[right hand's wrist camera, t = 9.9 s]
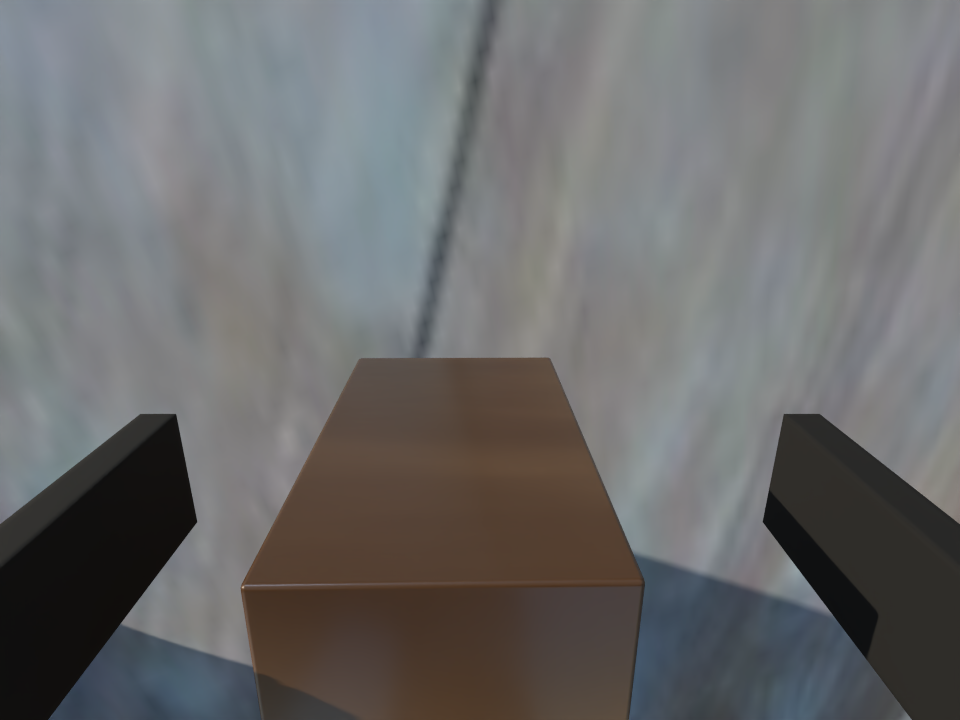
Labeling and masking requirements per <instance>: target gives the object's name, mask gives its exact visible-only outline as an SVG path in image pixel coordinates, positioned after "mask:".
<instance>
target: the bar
mask: <svg viewBox="0 0 960 720" xmlns="http://www.w3.org/2000/svg"><path fill="white" fill-rule="evenodd" d="M644 587H645V581H644V578H643V576H642V574H641V571H640V569H639V567H638V564H637V562H636V559H635V557H634V555H633V552H632V550H631V548H630V545H629V543H628V541H627V538H626V536H625V534H624V531H623V529H622V526H621V524H620V522H619V519H618V517H617V515H616V512H615V510H614V508H613V505H612V503H611V501H610V498H609V496H608V493H607V491H606V489H605V486H604V484H603V482H602V479H601V477H600V475H599V472H598V470H597V468H596V465H595V463H594V461H593V458H592V456H591V453H590V451H589V449H588V446H587V444H586V442H585V439H584V437H583V435H582V432H581V430H580V428H579V425H578V423H577V420H576V418H575V416H574V413H573V411H572V409H571V406H570V404H569V402H568V399H567V397H566V395H565V392H564V390H563V387H562V385H561V383H560V380H559V378H558V376H557V373H556V371H555V369H554V366H553V364H552V362H551V359H550V358H361V359H359V361H358V363H357V364H356V366H355V368H354V370H353V372H352V374H351V376H350V378H349V380H348V382H347V384H346V386H345V387H344V389H343V391H342V393H341V395H340V397H339V399H338V401H337V403H336V405H335V407H334V409H333V410H332V412H331V414H330V416H329V418H328V420H327V422H326V424H325V426H324V428H323V430H322V432H321V433H320V435H319V437H318V439H317V441H316V443H315V445H314V447H313V449H312V451H311V453H310V455H309V456H308V458H307V460H306V462H305V464H304V466H303V468H302V470H301V472H300V474H299V476H298V478H297V479H296V481H295V483H294V485H293V487H292V489H291V491H290V493H289V495H288V497H287V499H286V501H285V503H284V504H283V506H282V508H281V510H280V512H279V514H278V516H277V518H276V520H275V522H274V524H273V526H272V527H271V529H270V531H269V533H268V535H267V537H266V539H265V541H264V543H263V545H262V547H261V549H260V550H259V552H258V554H257V556H256V558H255V560H254V562H253V564H252V566H251V568H250V570H249V572H248V573H247V575H246V577H245V579H244V581H243V583H242V585H241V594H242V600H243V607H244V613H245V619H246V626H247V632H248V638H249V645H250V651H251V657H252V663H253V670H254V676H255V682H256V689H257V695H258V701H259V707H260V714H261V720H629V713H630V705H631V696H632V688H633V680H634V671H635V663H636V654H637V646H638V638H639V629H640V621H641V612H642V604H643V596H644Z"/></svg>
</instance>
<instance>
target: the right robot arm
mask: <svg viewBox="0 0 960 720" xmlns="http://www.w3.org/2000/svg"><path fill="white" fill-rule="evenodd" d="M196 523H197V518H196V513H195V508H194V503H193V498H192V493H191V488H190V483H189V478H188V473H187V467H186V462H185V457H184V452H183V447H182V442H181V437H180V432H179V427H178V422H177V416H176V414H140V415H139V416H137V417H136V418H135V419H134V420H132V421H131V422H130V423H129V424H127V425H126V426H125V427H123V428H122V429H121V430H120V431H118V432H117V433H116V434H115V435H113V436H112V437H111V438H109V439H108V440H107V441H106V442H104V443H103V444H102V445H101V446H99V447H98V448H97V449H95V450H94V451H93V452H92V453H90V454H89V455H88V456H87V457H85V458H84V459H83V460H81V461H80V462H79V463H78V464H76V465H75V466H74V467H73V468H71V469H70V470H69V471H67V472H66V473H65V474H64V475H62V476H61V477H60V478H59V479H57V480H56V481H55V482H53V483H52V484H51V485H50V486H48V487H47V488H46V489H45V490H43V491H42V492H41V493H39V494H38V495H37V496H36V497H34V498H33V499H32V500H31V501H29V502H28V503H27V504H26V505H24V506H23V507H22V508H20V509H19V510H18V511H17V512H15V513H14V514H13V515H12V516H10V517H9V518H8V519H6V520H5V521H4V522H3V523H1V524H0V720H48V719H49V718H50V716H51V715H52V714H53V712H54V711H55V710H56V708H57V707H58V706H59V704H60V703H61V702H62V700H63V699H64V698H65V696H66V695H67V694H68V692H69V691H70V690H71V689H72V687H73V686H74V685H75V683H76V682H77V681H78V679H79V678H80V677H81V675H82V674H83V673H84V671H85V670H86V669H87V667H88V666H89V665H90V663H91V662H92V661H93V659H94V658H95V657H96V655H97V654H98V653H99V651H100V650H101V649H102V647H103V646H104V645H105V643H106V642H107V641H108V639H109V638H110V637H111V636H112V634H113V633H114V632H115V630H116V629H117V628H118V626H119V625H120V624H121V622H122V621H123V620H124V618H125V617H126V616H127V614H128V613H129V612H130V610H131V609H132V608H133V606H134V605H135V604H136V602H137V601H138V600H139V598H140V597H141V596H142V594H143V593H144V592H145V590H146V589H147V588H148V586H149V585H150V584H151V582H152V581H153V580H154V579H155V577H156V576H157V575H158V573H159V572H160V571H161V569H162V568H163V567H164V565H165V564H166V563H167V561H168V560H169V559H170V557H171V556H172V555H173V553H174V552H175V551H176V549H177V548H178V547H179V545H180V544H181V543H182V541H183V540H184V539H185V537H186V536H187V535H188V533H189V532H190V531H191V529H192V528H193V527H194V526H195V524H196ZM763 523H764V524H765V526H766V527H767V528H768V529H769V531H770V532H771V533H772V535H773V536H774V537H775V539H776V540H777V541H778V543H779V544H780V545H781V547H782V548H783V549H784V551H785V552H786V553H787V555H788V556H789V557H790V559H791V560H792V561H793V563H794V564H795V565H796V567H797V568H798V569H799V571H800V572H801V573H802V575H803V576H804V577H805V579H806V580H807V581H808V583H809V584H810V585H811V586H812V588H813V589H814V590H815V592H816V593H817V594H818V596H819V597H820V598H821V600H822V601H823V602H824V604H825V605H826V606H827V608H828V609H829V610H830V612H831V613H832V614H833V616H834V617H835V618H836V620H837V621H838V622H839V624H840V625H841V626H842V628H843V629H844V630H845V632H846V633H847V634H848V636H849V637H850V638H851V639H852V641H853V642H854V643H855V645H856V646H857V647H858V649H859V650H860V651H861V653H862V654H863V655H864V657H865V658H866V659H867V661H868V662H869V663H870V665H871V666H872V667H873V669H874V670H875V671H876V673H877V674H878V675H879V677H880V678H881V679H882V681H883V682H884V683H885V685H886V686H887V687H888V689H889V690H890V691H891V692H892V694H893V695H894V696H895V698H896V699H897V700H898V702H899V703H900V704H901V706H902V707H903V708H904V710H905V711H906V712H907V714H908V715H909V716H910V718H911V719H912V720H960V524H959V523H957V522H956V521H955V520H954V519H952V518H951V517H950V516H948V515H947V514H946V513H945V512H943V511H942V510H941V509H940V508H938V507H937V506H936V505H934V504H933V503H932V502H931V501H929V500H928V499H927V498H926V497H924V496H923V495H922V494H921V493H919V492H918V491H917V490H915V489H914V488H913V487H912V486H910V485H909V484H908V483H907V482H905V481H904V480H903V479H901V478H900V477H899V476H898V475H896V474H895V473H894V472H893V471H891V470H890V469H889V468H887V467H886V466H885V465H884V464H882V463H881V462H880V461H879V460H877V459H876V458H875V457H873V456H872V455H871V454H870V453H868V452H867V451H866V450H865V449H863V448H862V447H861V446H859V445H858V444H857V443H856V442H854V441H853V440H852V439H851V438H849V437H848V436H847V435H845V434H844V433H843V432H842V431H840V430H839V429H838V428H837V427H835V426H834V425H833V424H831V423H830V422H829V421H828V420H826V419H825V418H824V417H823V416H821V415H820V414H784V416H783V422H782V427H781V432H780V437H779V442H778V447H777V452H776V457H775V462H774V467H773V473H772V478H771V483H770V488H769V493H768V498H767V503H766V508H765V513H764V518H763Z"/></svg>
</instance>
